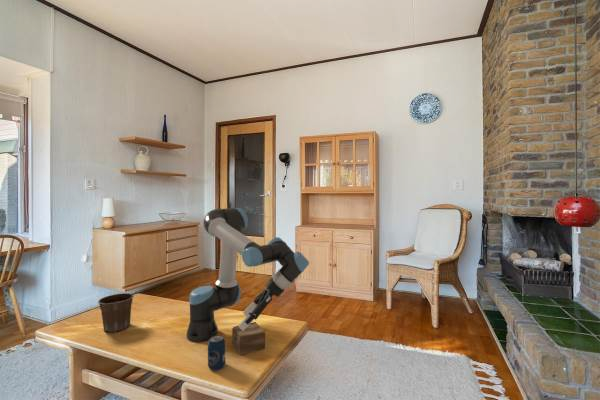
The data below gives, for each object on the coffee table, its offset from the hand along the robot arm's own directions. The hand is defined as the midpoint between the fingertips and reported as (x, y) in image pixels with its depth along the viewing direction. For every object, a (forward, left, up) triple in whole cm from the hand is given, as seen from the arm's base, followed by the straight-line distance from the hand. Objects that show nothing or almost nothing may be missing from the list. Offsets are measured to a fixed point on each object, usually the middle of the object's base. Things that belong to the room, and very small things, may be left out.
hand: (242, 321), depth 123 cm
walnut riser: (-15, +7, -19) cm, 25 cm away
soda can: (-5, -10, -19) cm, 22 cm away
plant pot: (-68, -49, -19) cm, 86 cm away
